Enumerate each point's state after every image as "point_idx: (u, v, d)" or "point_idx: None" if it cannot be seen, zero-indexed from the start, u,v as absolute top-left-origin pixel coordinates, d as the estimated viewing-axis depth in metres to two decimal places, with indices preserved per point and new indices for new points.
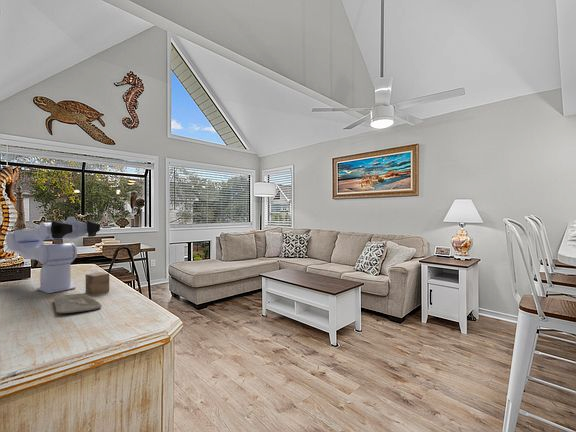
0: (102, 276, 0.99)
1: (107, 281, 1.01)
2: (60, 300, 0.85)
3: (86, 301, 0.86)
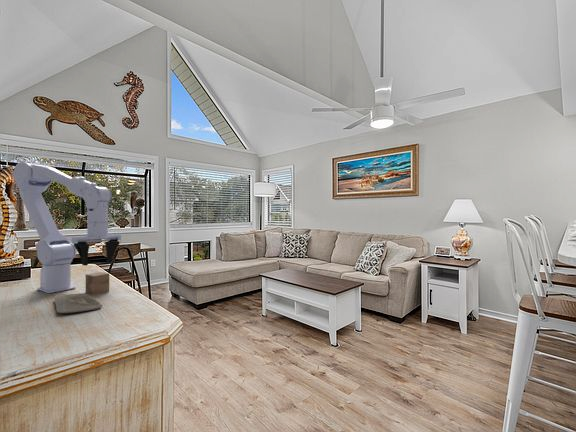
0: (102, 276, 0.99)
1: (107, 281, 1.01)
2: (60, 300, 0.85)
3: (87, 300, 0.86)
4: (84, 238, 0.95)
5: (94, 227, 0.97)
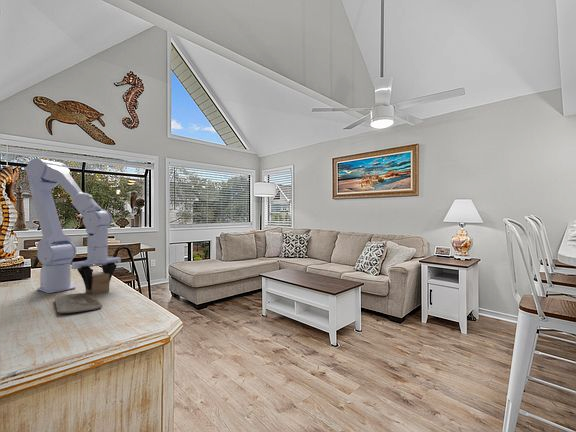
0: (102, 276, 0.99)
1: (107, 281, 1.01)
2: (61, 300, 0.86)
3: (87, 300, 0.86)
4: (84, 263, 0.95)
5: (94, 252, 0.97)
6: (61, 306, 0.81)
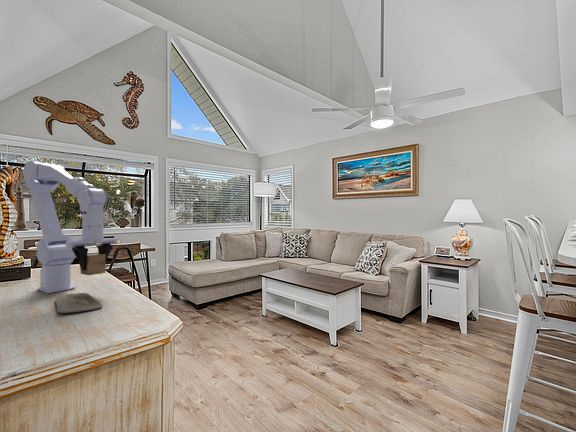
0: (98, 256, 0.96)
1: (103, 262, 0.97)
2: (62, 300, 0.86)
3: (88, 300, 0.86)
4: (79, 242, 0.92)
5: (89, 231, 0.94)
6: (61, 306, 0.81)
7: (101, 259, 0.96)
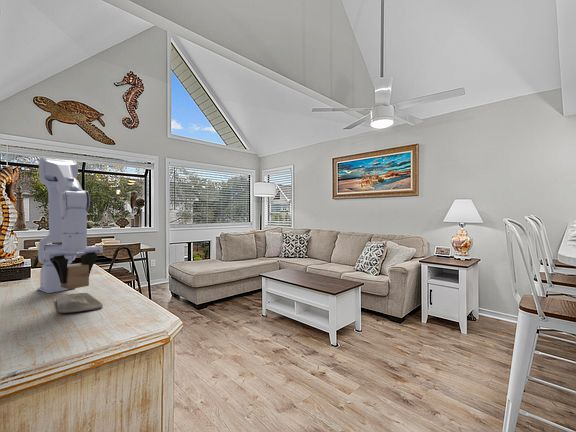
0: (80, 268, 0.84)
1: (86, 274, 0.86)
2: (62, 299, 0.86)
3: (88, 300, 0.87)
4: (57, 252, 0.81)
5: (70, 239, 0.83)
6: (62, 306, 0.81)
7: (84, 271, 0.85)
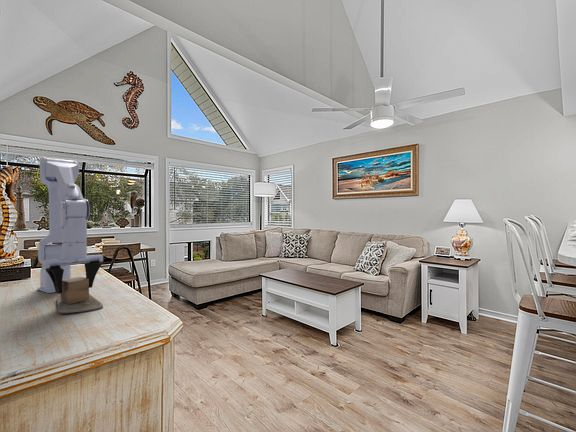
0: (80, 282, 0.85)
1: (86, 287, 0.86)
2: None
3: (88, 300, 0.87)
4: (57, 261, 0.81)
5: (70, 248, 0.83)
6: (62, 306, 0.81)
7: (84, 285, 0.85)
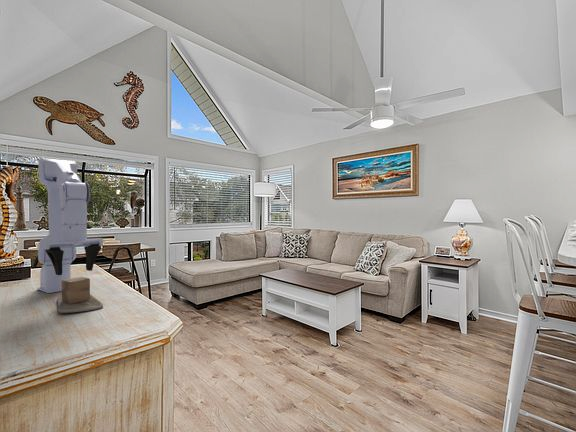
0: (81, 282, 0.85)
1: (87, 287, 0.86)
2: None
3: (89, 300, 0.87)
4: (57, 243, 0.81)
5: (70, 230, 0.83)
6: (63, 306, 0.81)
7: (85, 285, 0.86)
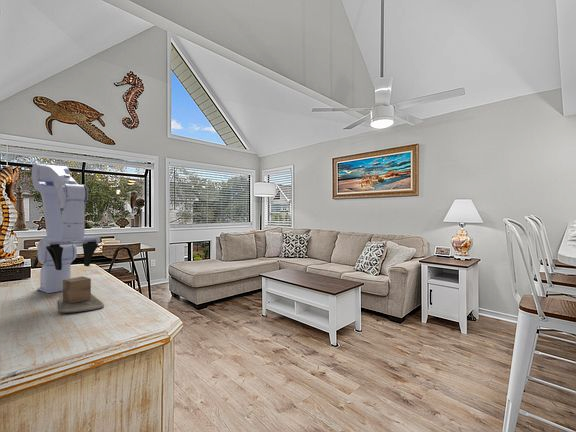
0: (82, 281, 0.85)
1: (88, 287, 0.86)
2: None
3: (90, 300, 0.87)
4: (57, 240, 0.88)
5: (69, 228, 0.89)
6: (64, 305, 0.82)
7: (86, 284, 0.86)
